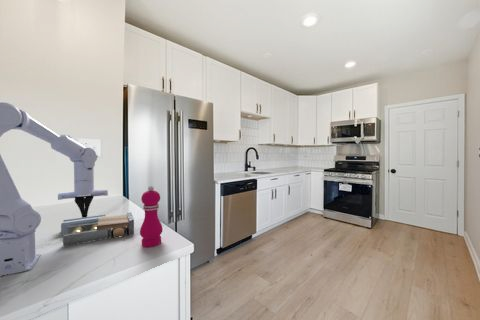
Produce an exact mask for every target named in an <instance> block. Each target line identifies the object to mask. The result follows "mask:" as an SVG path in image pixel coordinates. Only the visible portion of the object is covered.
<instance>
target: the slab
mask: <svg viewBox="0 0 480 320" xmlns="http://www.w3.org/2000/svg"><path fill="white" fill-rule="evenodd" d="M128 226H129V220H128V217H127V214H121V215H114V216H113V215H111V216H106V217H101V218H99V220H98V226H97V230H103V229H108V230H109V229H111V230H112V229H113V228H119V227H123V228H124V227H126V228H127V227H128Z"/></svg>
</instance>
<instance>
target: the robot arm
mask: <svg viewBox="0 0 480 320" xmlns="http://www.w3.org/2000/svg"><path fill="white" fill-rule="evenodd" d="M12 130H20V131H22V132H24V133H27V134H29V135H32V136H34V137H36V138H38V139H40V140H43V141H44V142H46V143H49V144H50V148H51V149H52V150H54V151H55V152H57V153H60V154H62V155H64V156H65V157H68V158H69V160H70V161H71V163H73V184H74V185H73V188H74V189H73V191H71V192H61V193H58V194H57V200H58V201H59V200H60V201H61V200H62V201H63V200H66V199H74V203H75V204H76V206H77V207H78V210H79V211H80V214H81V218H83V217H88V213H89V210H90V205H91V204H92V202H93V199H94V197H103V196H104V197H105V196H108V195H109V193H108V192H109V191H108V189H96V190H95V189H94V188H95V185H94V183H95V182H94V181H95V177H94V175H95V174H94V173H95V172H94V167H95V163H96V161H97V159H98V154H97V153H96V151H95V149H93V148H91V147H86V146H85V145H84V144H83V143H80V142H78V141H76V140H74V139H73V136H71V135H69V134H67V135H66V134H61V135H60V134H58V133H56V132H54V131H53V130H51V129H50V128H48V127H46V126H45V125H43V124H42V123H40V122H39V121H37V120H36V119H34V118H32V117H31V116H30V115H29V114H28V113H27V112H26V111H25V110H22V109H19V108H18V107H17V106H15V105H13V104H11V103H9V102H0V138H1V137H2V136H3V135H4V134H5V133H7V132H9V131H12ZM15 184H16V183H14V180H13V178H12V176H11V173H10V172H9V169H8V168H7V165H6V163H5V162H4V159H3V157H2V155H1V154H0V277H2V275H4V276H7V274H8V275H12V274H17V273H21V272H25V271H29V270H32V268H33V267H34V266H35V264H36V262H38V260H39V258H40V257H41V255H42V254H41V253H37V254H36V230H37V228H38V227H39V226H40V224H41V221H42V217H41V214H40V213H39V212H37V211H36V210H35V209H34V208H33V207H32V205H31V204H30V203H29V202H27V201H26V200H25V199H23V198H22V197H21V195H20V193H19V191H18V189H17V186H16V185H15ZM33 265H34V266H33Z"/></svg>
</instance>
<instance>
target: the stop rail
mask: <svg viewBox="0 0 480 320" xmlns="http://www.w3.org/2000/svg"><path fill="white" fill-rule="evenodd" d="M126 215H127V217H128V220H129V226H127V229H128V230H129V231H128V230H127V231H128V235H129V234H131V235H134V234H135V219H134V216H133V214H132V212H126Z"/></svg>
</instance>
